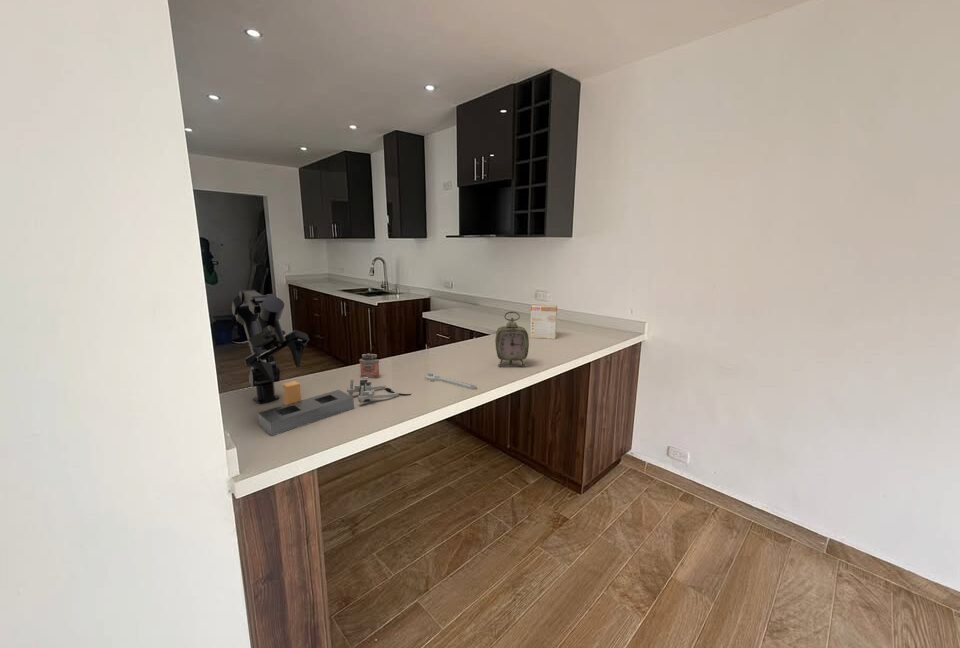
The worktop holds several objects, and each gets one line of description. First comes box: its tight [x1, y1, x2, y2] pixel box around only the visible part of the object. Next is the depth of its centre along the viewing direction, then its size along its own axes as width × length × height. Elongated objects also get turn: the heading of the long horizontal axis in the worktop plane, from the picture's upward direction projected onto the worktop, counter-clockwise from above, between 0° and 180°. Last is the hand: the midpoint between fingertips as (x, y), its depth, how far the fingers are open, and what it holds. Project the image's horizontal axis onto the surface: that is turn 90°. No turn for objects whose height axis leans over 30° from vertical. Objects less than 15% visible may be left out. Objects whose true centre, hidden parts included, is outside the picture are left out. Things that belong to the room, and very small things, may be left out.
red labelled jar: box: [359, 353, 381, 379], centre depth 159 cm, size 8×3×10 cm, turn 83°
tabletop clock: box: [494, 311, 530, 368], centre depth 174 cm, size 14×9×25 cm, turn 91°
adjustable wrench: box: [424, 372, 478, 391], centre depth 153 cm, size 25×6×2 cm, turn 51°
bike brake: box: [346, 378, 412, 404], centre depth 140 cm, size 14×7×20 cm
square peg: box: [282, 380, 302, 405], centre depth 130 cm, size 4×4×8 cm
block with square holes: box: [257, 389, 355, 436], centre depth 123 cm, size 10×26×4 cm, turn 138°
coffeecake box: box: [529, 303, 558, 340], centre depth 229 cm, size 15×7×20 cm, turn 74°
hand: (285, 374), depth 115 cm, fingers open, 9 cm apart
